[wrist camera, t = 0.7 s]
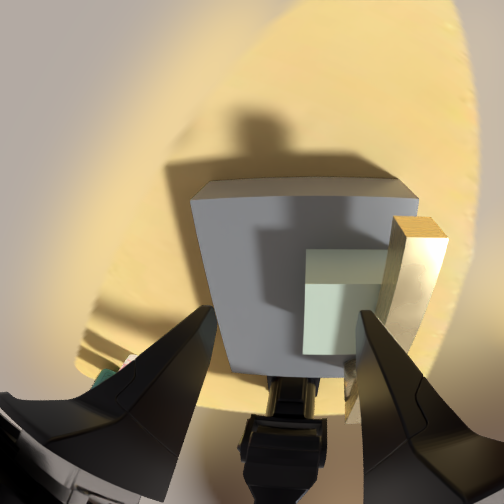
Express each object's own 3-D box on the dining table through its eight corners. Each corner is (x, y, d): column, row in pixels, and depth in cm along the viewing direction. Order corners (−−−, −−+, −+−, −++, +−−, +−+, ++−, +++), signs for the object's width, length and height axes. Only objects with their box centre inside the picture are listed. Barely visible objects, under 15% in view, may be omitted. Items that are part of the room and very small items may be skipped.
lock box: (367, 346, 26) (370, 376, 23) (240, 343, 29) (231, 372, 26) (399, 179, 17) (419, 198, 14) (209, 181, 20) (189, 200, 16)
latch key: (366, 372, 22) (369, 423, 17) (341, 373, 22) (342, 424, 18) (410, 191, 13) (452, 238, 9) (371, 189, 14) (402, 237, 9)
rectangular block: (381, 317, 19) (388, 352, 16) (304, 317, 20) (302, 354, 17) (397, 249, 15) (412, 283, 13) (306, 249, 17) (305, 283, 14)
